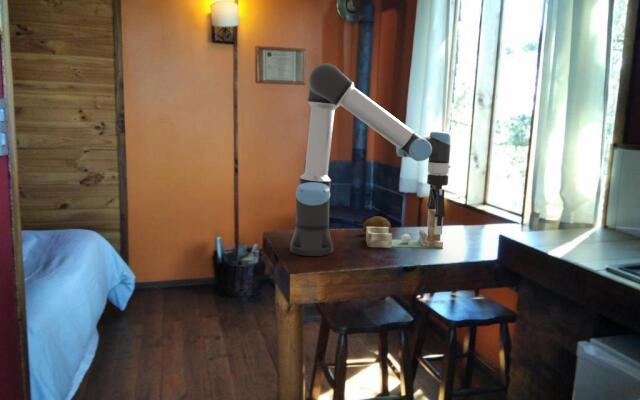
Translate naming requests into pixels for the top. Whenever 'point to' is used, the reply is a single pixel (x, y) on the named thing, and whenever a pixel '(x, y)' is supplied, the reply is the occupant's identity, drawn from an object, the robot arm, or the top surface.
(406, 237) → the ball
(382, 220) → the potato
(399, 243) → the plate
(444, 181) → the robot arm
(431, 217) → the kicker
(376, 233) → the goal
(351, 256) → the top surface
